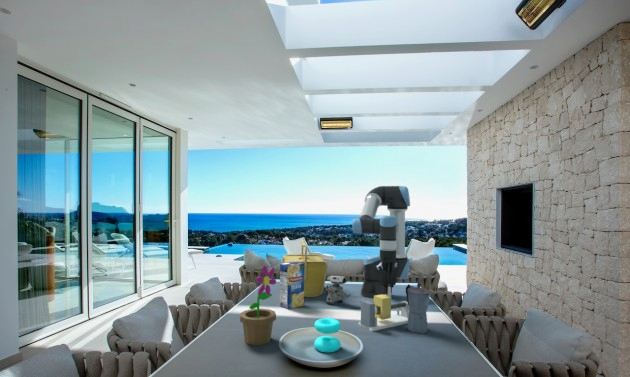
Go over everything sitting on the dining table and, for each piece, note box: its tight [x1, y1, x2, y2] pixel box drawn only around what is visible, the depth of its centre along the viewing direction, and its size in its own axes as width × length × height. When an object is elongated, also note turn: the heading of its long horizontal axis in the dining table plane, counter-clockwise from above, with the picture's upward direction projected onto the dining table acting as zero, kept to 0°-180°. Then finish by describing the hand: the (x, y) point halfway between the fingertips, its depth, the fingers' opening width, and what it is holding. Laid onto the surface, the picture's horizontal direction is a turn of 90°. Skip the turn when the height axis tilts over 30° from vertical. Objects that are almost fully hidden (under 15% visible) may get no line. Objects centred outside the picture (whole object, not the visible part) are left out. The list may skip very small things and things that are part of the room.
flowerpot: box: [239, 265, 277, 346], centre depth 142 cm, size 14×14×30 cm
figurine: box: [325, 275, 352, 306], centre depth 193 cm, size 9×12×15 cm
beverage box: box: [279, 262, 305, 310], centre depth 189 cm, size 7×11×22 cm, turn 131°
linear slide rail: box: [358, 299, 410, 332], centre depth 163 cm, size 26×9×11 cm, turn 121°
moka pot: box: [405, 283, 431, 334], centre depth 156 cm, size 10×15×20 cm, turn 27°
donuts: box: [313, 317, 342, 353], centre depth 135 cm, size 10×10×10 cm
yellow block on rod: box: [373, 294, 392, 320], centre depth 162 cm, size 5×6×9 cm
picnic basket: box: [281, 239, 329, 298], centre depth 219 cm, size 29×26×30 cm
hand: (387, 301), depth 164 cm, fingers closed
